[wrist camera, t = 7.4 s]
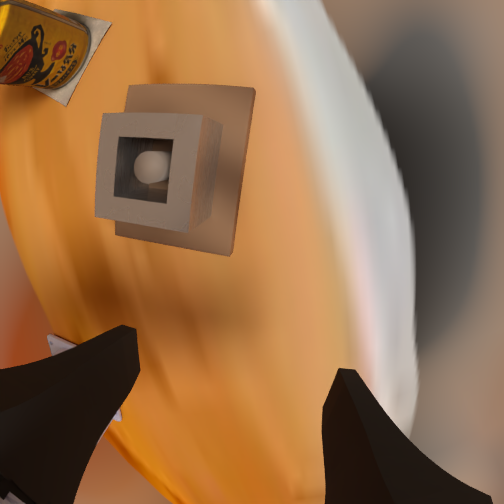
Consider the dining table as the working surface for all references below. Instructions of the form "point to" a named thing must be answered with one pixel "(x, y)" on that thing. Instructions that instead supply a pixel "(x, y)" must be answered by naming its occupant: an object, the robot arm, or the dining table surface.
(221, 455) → the dining table surface
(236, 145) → the block
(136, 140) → the block with square hole
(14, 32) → the condiment
